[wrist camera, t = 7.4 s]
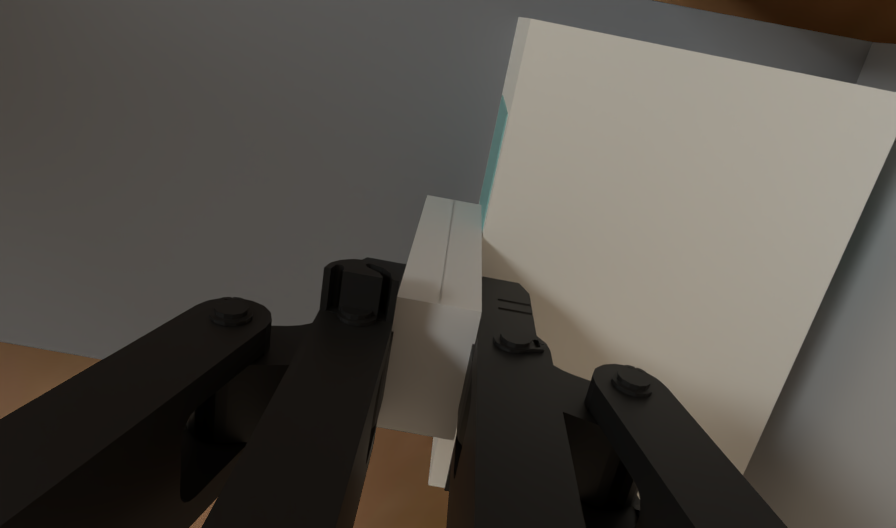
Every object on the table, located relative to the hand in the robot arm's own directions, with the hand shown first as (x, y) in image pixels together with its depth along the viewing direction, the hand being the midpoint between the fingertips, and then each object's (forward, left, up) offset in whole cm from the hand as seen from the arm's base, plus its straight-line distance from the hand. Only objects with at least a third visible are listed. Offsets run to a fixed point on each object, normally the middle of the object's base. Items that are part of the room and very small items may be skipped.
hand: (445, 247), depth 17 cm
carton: (+5, 0, -2) cm, 5 cm away
